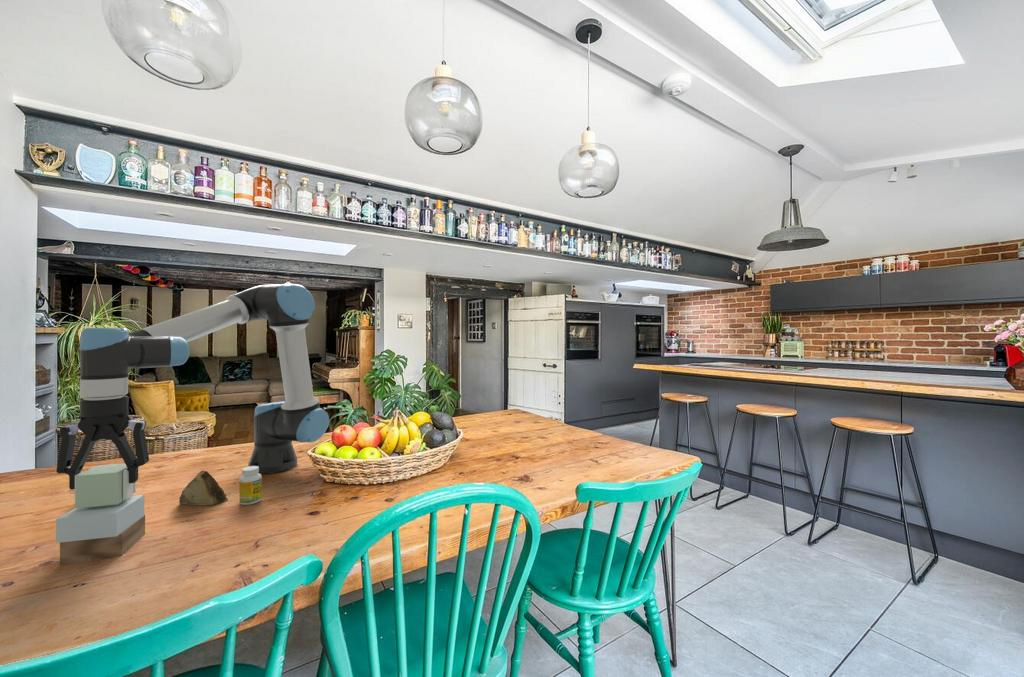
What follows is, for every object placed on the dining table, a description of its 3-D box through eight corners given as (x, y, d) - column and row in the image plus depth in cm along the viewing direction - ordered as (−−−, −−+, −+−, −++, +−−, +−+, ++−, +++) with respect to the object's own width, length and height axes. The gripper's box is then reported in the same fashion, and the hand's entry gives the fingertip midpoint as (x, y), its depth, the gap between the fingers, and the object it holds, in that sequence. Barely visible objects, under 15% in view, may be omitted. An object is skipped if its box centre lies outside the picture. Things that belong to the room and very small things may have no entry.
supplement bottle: (246, 497, 117) (247, 464, 117) (265, 497, 117) (265, 464, 117) (234, 505, 112) (234, 471, 111) (254, 505, 112) (254, 471, 112)
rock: (164, 499, 110) (183, 501, 105) (184, 468, 115) (203, 469, 110) (202, 511, 117) (221, 513, 113) (219, 482, 122) (239, 483, 118)
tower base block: (145, 535, 95) (145, 514, 95) (122, 557, 86) (122, 534, 86) (90, 542, 92) (90, 521, 92) (59, 566, 83) (59, 542, 82)
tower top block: (144, 515, 95) (144, 494, 95) (116, 536, 85) (116, 512, 85) (90, 521, 92) (90, 499, 92) (56, 542, 82) (56, 518, 82)
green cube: (135, 492, 94) (135, 462, 94) (117, 504, 88) (117, 472, 88) (97, 495, 92) (97, 465, 92) (75, 508, 85) (75, 475, 85)
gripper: (168, 392, 96) (168, 487, 96) (53, 397, 88) (53, 500, 88) (155, 397, 89) (155, 499, 90) (29, 402, 81) (29, 515, 82)
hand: (104, 500), depth 89 cm, fingers closed on green cube, 7 cm apart
